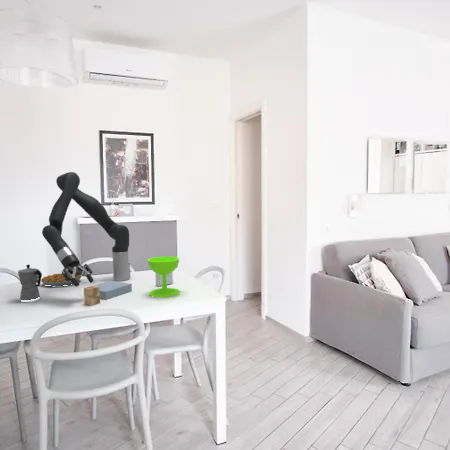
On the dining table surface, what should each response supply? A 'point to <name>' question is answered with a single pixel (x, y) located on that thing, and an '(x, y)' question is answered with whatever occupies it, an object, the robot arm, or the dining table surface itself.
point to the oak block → (91, 295)
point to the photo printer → (168, 279)
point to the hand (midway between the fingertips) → (85, 283)
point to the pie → (58, 280)
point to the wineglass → (164, 274)
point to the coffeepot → (29, 283)
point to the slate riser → (113, 289)
